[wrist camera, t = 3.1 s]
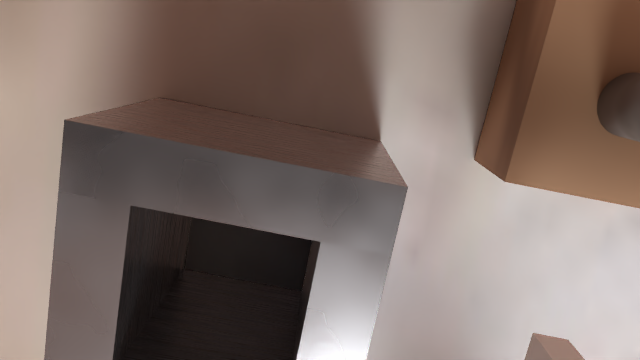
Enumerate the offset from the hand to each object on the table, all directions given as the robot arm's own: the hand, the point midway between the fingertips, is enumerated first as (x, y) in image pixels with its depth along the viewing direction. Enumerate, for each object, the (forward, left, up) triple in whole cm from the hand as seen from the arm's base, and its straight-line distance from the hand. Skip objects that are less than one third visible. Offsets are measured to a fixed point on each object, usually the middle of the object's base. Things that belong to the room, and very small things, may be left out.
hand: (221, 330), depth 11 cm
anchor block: (-6, +9, -6) cm, 12 cm away
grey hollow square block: (0, 0, -6) cm, 6 cm away
